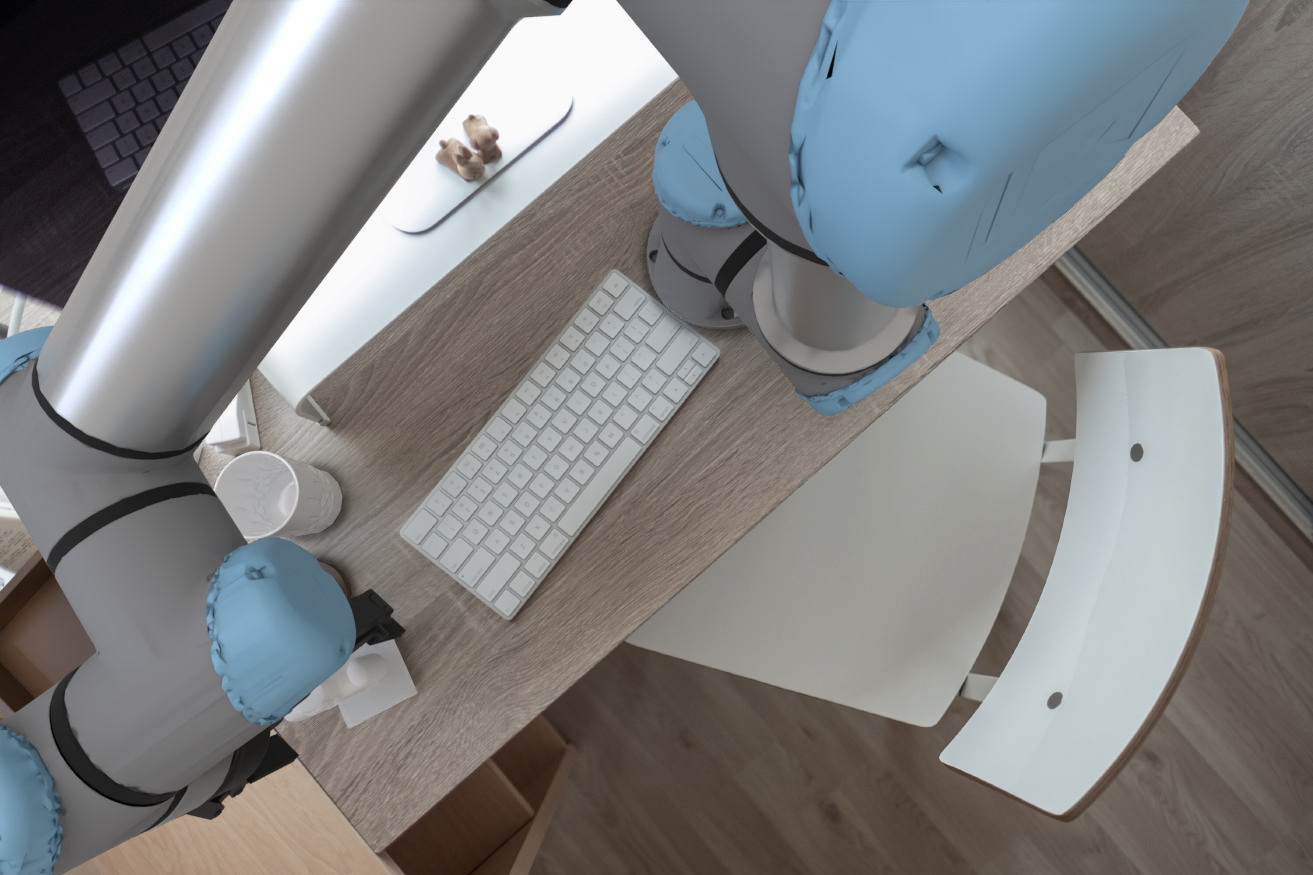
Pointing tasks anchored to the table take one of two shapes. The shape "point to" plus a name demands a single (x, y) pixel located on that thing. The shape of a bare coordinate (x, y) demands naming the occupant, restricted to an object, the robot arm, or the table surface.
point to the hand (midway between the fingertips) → (339, 684)
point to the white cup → (277, 496)
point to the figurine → (361, 686)
